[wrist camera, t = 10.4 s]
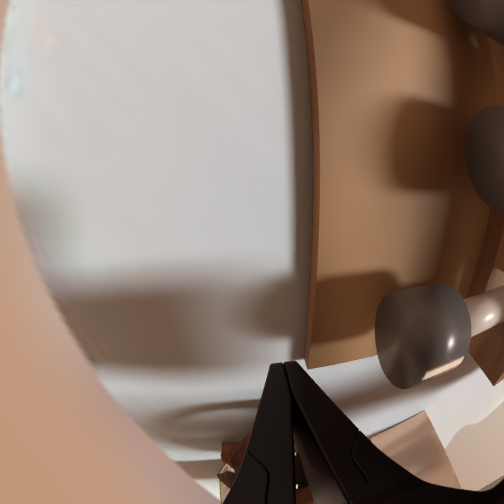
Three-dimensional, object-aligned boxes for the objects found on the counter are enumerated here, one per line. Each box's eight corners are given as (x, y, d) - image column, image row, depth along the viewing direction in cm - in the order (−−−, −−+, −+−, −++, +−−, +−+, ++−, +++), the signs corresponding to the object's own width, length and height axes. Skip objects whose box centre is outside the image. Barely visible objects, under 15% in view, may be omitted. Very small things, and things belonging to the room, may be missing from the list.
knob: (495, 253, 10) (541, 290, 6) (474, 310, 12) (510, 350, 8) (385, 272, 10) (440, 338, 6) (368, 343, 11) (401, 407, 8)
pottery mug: (185, 432, 18) (188, 501, 10) (263, 352, 20) (308, 397, 12) (286, 482, 19) (318, 535, 11) (353, 417, 21) (406, 457, 13)
